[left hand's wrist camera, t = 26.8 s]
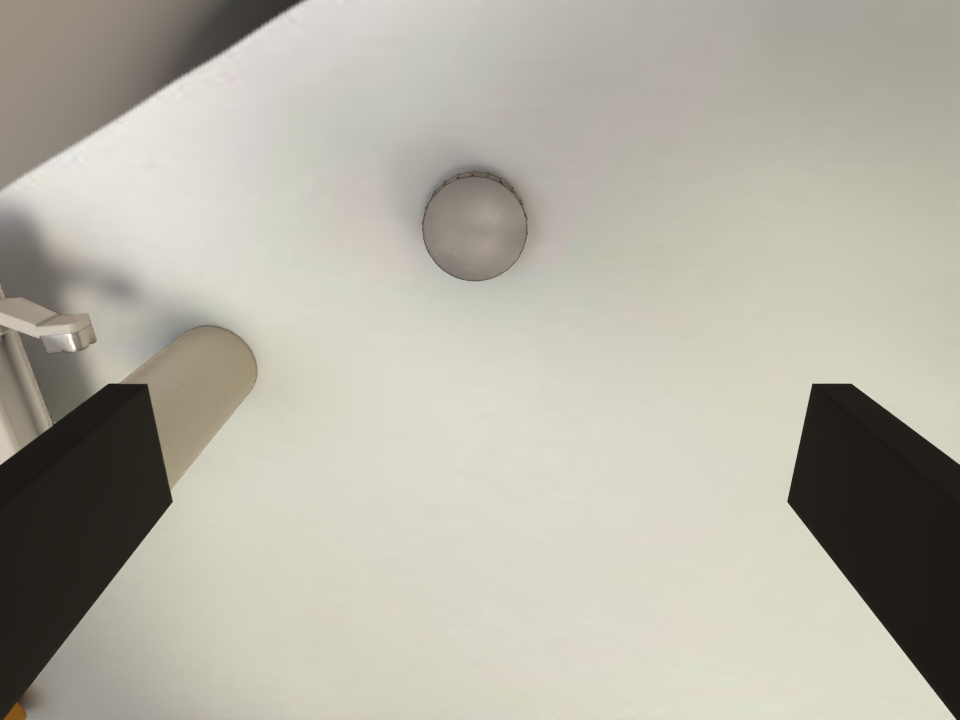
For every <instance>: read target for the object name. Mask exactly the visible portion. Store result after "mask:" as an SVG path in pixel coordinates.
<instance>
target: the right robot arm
mask: <svg viewBox="0 0 960 720" xmlns="http://www.w3.org/2000/svg"><path fill="white" fill-rule="evenodd" d="M18 331H19V332H22V333H24V334H27V335H30V336H33V337H36V338H38V339H41V341H42V343H43V346H44V348H45V351H46V353H47V354H51V353H60V352H62V351H64V350H65V351H67V352H75V351H80V350H83V349H85V348H87V347H88V346H89V344H94V343H95V342H96V341H97V339H96V336H95V333H94V330H93V326H92V323H91V321H90V317H89V315H88V314H73V315H60V316H58V314H57V313H56V312H53V311H51V310H49V309H47V308H44V307H42V306H40V305H38V304H35V303H33V302H31V301H29V300H27V299H24V298H22V297H15V298H5V295H4V293H3V290H2V287H1V285H0V465H1V464H2V463H3V462H5V461H6V460H7V459H9V458H10V457H11V456H13V455H14V454H15V453H17V452H18V451H19V450H21V449H22V448H23V447H25V446H26V445H27V444H29V443H30V442H31V441H33V440H34V439H35V438H37V437H38V436H39V435H41V434H42V433H43V432H45V431H46V430H47V429H49V428H50V427H52V426H53V424H52V421H51V418H50V416H49V413H48V410H47V408H46V405H45V402H44V400H43V397H42V394H41V392H40V389H39V386H38V384H37V381H36V378H35V376H34V373H33V370H32V368H31V365H30V362H29V360H28V357H27V354H26V351H25V349H24V346H23V343H22V341H21V338H20V335H19V333H18Z"/></svg>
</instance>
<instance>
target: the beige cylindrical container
mask: <svg viewBox="0 0 960 720" xmlns="http://www.w3.org/2000/svg"><path fill="white" fill-rule="evenodd" d="M256 377H257V366H256V362H255V358H254V356H253V354H252V352H251V350H250V349H249V347H248V346H247V345H246V344H245V342H244V341H243V340H241V339H240V338H239V337H238V336H236V335H235V334H233V333H232V332H230V331H228V330H225V329H222V328H218V327H213V326H202V327H196V328H193V329H191V330H188V331H187V332H185V333H184V334H182V335H181V336H180V337H178V338H177V339H176V340H174V341H173V342H172V343H171V344H169V345H168V346H167V347H165V348H164V349H163V350H161V351H160V352H159V353H158V354H156V355H155V356H154V357H152V358H151V359H150V360H148V361H147V362H146V363H144V364H143V365H142V366H141V367H139V368H138V369H137V370H135V371H134V372H133V373H131V374H130V375H129V376H128V377H126V378H125V379H124V380H122V381H121V382H120V383H118V384H148V388H149V393H150V398H151V402H152V407H153V412H154V417H155V421H156V426H157V431H158V435H159V440H160V445H161V449H162V454H163V459H164V463H165V468H166V473H167V477H168V482H169V487H170V490H171V489H172V488H173V487H174V485H175V484H176V483H177V482H178V481H179V479H180V478H181V477H182V476H183V474H184V473H185V472H186V471H187V469H188V468H189V467H190V466H191V464H192V463H193V462H194V461H195V459H196V458H197V457H198V456H199V454H200V453H201V452H202V451H203V449H204V448H205V447H206V446H207V445H208V443H209V442H210V441H211V440H212V438H213V437H214V436H215V435H216V433H217V432H218V431H219V430H220V428H221V427H222V426H223V425H224V423H225V422H226V421H227V420H228V418H229V417H230V416H231V415H232V413H233V412H234V411H235V410H236V409H237V407H238V406H239V405H240V404H241V402H242V401H243V400H244V399H245V397H246V396H247V395H248V394H249V392H250V391H251V390H252V388H253V386H254V384H255V381H256Z"/></svg>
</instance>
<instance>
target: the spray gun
mask: <svg viewBox="0 0 960 720" xmlns="http://www.w3.org/2000/svg"><path fill="white" fill-rule="evenodd" d="M26 716H27V713H26V712H25V710H24V709H23V708H22V707H21V705H20V704H19V703H18V702H17V703H16V704H15V705H14V707H13V708H12V709H11V711H10V712H9V713H8V714H7V716H6V717H5V718H4V720H26Z"/></svg>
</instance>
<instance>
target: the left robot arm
mask: <svg viewBox="0 0 960 720" xmlns="http://www.w3.org/2000/svg"><path fill="white" fill-rule="evenodd" d="M172 502H173V501H172V496H171V491H170V487H169V482H168V477H167V473H166V468H165V463H164V459H163V454H162V449H161V445H160V440H159V435H158V431H157V426H156V421H155V417H154V412H153V407H152V402H151V398H150V393H149V388H148V384H108V385H106V386H105V387H104V388H102V389H101V390H100V391H98V392H97V393H96V394H94V395H93V396H92V397H90V398H89V399H88V400H86V401H85V402H84V403H82V404H81V405H80V406H78V407H77V408H76V409H74V410H73V411H72V412H70V413H69V414H68V415H66V416H65V417H64V418H62V419H61V420H60V421H58V422H57V423H56V424H54V425H53V426H52V427H50V428H49V429H47V430H46V431H45V432H43V433H42V434H41V435H39V436H38V437H37V438H35V439H34V440H33V441H31V442H30V443H29V444H27V445H26V446H25V447H23V448H22V449H21V450H19V451H18V452H17V453H15V454H14V455H13V456H11V457H10V458H9V459H7V460H6V461H5V462H3V463H2V464H1V465H0V720H4V718H5V717H6V716H7V714H8V713H9V712H10V711H11V709H12V708H13V707H14V705H15V704H16V703H17V702H18V700H19V699H20V698H21V696H22V695H23V694H24V693H25V691H26V690H27V689H28V687H29V686H30V685H31V684H32V682H33V681H34V680H35V678H36V677H37V676H38V675H39V673H40V672H41V671H42V669H43V668H44V667H45V666H46V664H47V663H48V662H49V660H50V659H51V658H52V657H53V655H54V654H55V653H56V651H57V650H58V649H59V648H60V646H61V645H62V644H63V642H64V641H65V640H66V639H67V637H68V636H69V635H70V633H71V632H72V631H73V629H74V628H75V627H76V626H77V624H78V623H79V622H80V620H81V619H82V618H83V617H84V615H85V614H86V613H87V611H88V610H89V609H90V608H91V606H92V605H93V604H94V602H95V601H96V600H97V599H98V597H99V596H100V595H101V593H102V592H103V591H104V590H105V588H106V587H107V586H108V584H109V583H110V582H111V581H112V579H113V578H114V577H115V575H116V574H117V573H118V572H119V570H120V569H121V568H122V566H123V565H124V564H125V563H126V561H127V560H128V559H129V557H130V556H131V555H132V554H133V552H134V551H135V550H136V548H137V547H138V546H139V545H140V543H141V542H142V541H143V539H144V538H145V537H146V536H147V534H148V533H149V532H150V530H151V529H152V528H153V527H154V525H155V524H156V523H157V521H158V520H159V519H160V517H161V516H162V515H163V514H164V512H165V511H166V510H167V508H168V507H169V506H170V505H171V503H172ZM787 502H788V503H789V505H790V506H791V507H792V508H793V510H794V511H795V512H796V514H797V515H798V516H799V517H800V519H801V520H802V521H803V523H804V524H805V525H806V527H807V528H808V529H809V530H810V532H811V533H812V534H813V536H814V537H815V538H816V539H817V541H818V542H819V543H820V545H821V546H822V547H823V548H824V550H825V551H826V552H827V554H828V555H829V556H830V557H831V559H832V560H833V561H834V563H835V564H836V565H837V566H838V568H839V569H840V570H841V572H842V573H843V574H844V575H845V577H846V578H847V579H848V581H849V582H850V583H851V584H852V586H853V587H854V588H855V590H856V591H857V592H858V593H859V595H860V596H861V597H862V599H863V600H864V601H865V602H866V604H867V605H868V606H869V608H870V609H871V610H872V611H873V613H874V614H875V615H876V617H877V618H878V619H879V620H880V622H881V623H882V624H883V626H884V627H885V628H886V629H887V631H888V632H889V633H890V635H891V636H892V637H893V639H894V640H895V641H896V642H897V644H898V645H899V646H900V648H901V649H902V650H903V651H904V653H905V654H906V655H907V657H908V658H909V659H910V660H911V662H912V663H913V664H914V666H915V667H916V668H917V669H918V671H919V672H920V673H921V675H922V676H923V677H924V678H925V680H926V681H927V682H928V684H929V685H930V686H931V687H932V689H933V690H934V691H935V693H936V694H937V695H938V696H939V698H940V699H941V700H942V702H943V703H944V704H945V705H946V707H947V708H948V709H949V711H950V712H951V713H952V714H953V716H954V717H955V718H956V720H960V465H959V464H958V463H957V462H955V461H954V460H953V459H951V458H950V457H949V456H947V455H946V454H945V453H943V452H942V451H941V450H939V449H938V448H937V447H935V446H934V445H933V444H931V443H930V442H929V441H927V440H926V439H925V438H923V437H922V436H921V435H919V434H918V433H917V432H915V431H914V430H913V429H911V428H910V427H908V426H907V425H906V424H904V423H903V422H902V421H900V420H899V419H898V418H896V417H895V416H894V415H892V414H891V413H890V412H888V411H887V410H886V409H884V408H883V407H882V406H880V405H879V404H878V403H876V402H875V401H874V400H872V399H871V398H870V397H868V396H867V395H866V394H864V393H863V392H862V391H860V390H859V389H858V388H856V387H855V386H854V385H852V384H812V388H811V393H810V398H809V402H808V407H807V412H806V417H805V421H804V426H803V431H802V435H801V440H800V445H799V449H798V454H797V459H796V463H795V468H794V473H793V477H792V482H791V487H790V491H789V496H788V501H787Z"/></svg>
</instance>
